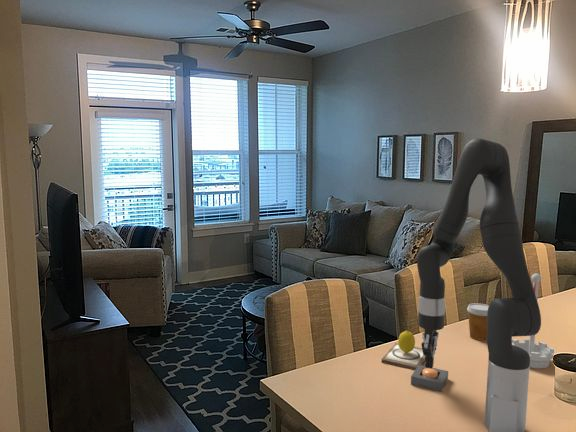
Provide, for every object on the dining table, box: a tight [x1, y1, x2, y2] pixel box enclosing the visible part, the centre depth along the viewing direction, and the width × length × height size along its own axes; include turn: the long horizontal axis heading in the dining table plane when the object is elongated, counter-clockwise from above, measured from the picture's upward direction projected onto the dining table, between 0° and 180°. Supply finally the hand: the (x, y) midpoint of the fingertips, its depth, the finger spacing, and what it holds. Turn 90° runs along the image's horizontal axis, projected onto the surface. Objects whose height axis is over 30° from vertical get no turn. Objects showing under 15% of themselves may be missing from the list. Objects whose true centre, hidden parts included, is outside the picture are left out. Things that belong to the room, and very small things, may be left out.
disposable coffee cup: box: [466, 302, 489, 341], centre depth 177 cm, size 10×10×12 cm
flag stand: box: [512, 273, 555, 369], centre depth 155 cm, size 13×13×30 cm
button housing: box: [410, 365, 449, 392], centre depth 142 cm, size 9×9×2 cm
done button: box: [422, 368, 438, 379], centre depth 142 cm, size 4×4×2 cm
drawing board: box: [381, 343, 425, 371], centre depth 160 cm, size 16×12×1 cm
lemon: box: [397, 330, 416, 353], centre depth 159 cm, size 6×6×8 cm
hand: (429, 367), depth 141 cm, fingers closed
